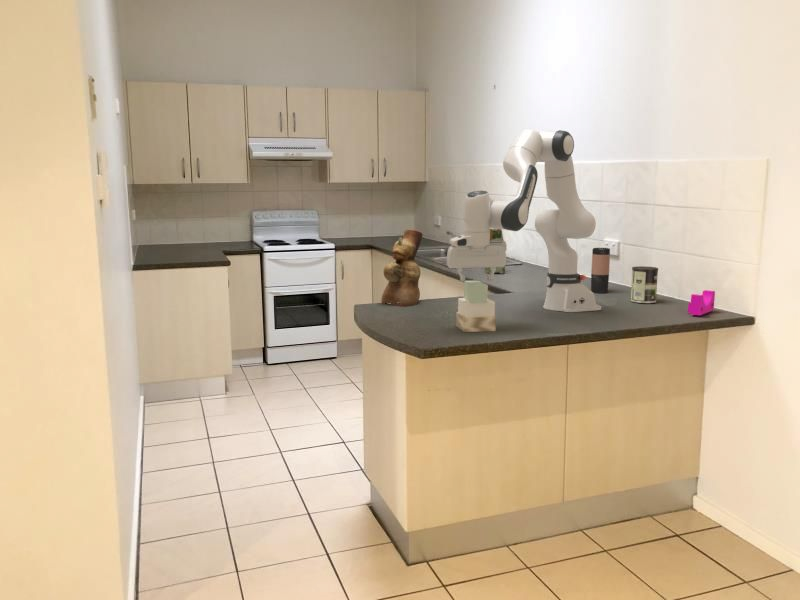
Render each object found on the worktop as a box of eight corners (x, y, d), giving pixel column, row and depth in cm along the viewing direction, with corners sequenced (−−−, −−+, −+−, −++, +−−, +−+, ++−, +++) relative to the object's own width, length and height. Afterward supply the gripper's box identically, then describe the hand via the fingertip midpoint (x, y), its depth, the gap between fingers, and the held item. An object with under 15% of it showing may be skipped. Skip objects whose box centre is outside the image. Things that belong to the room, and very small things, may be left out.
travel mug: (611, 293, 311) (614, 248, 308) (597, 294, 308) (599, 249, 305) (600, 291, 318) (602, 247, 315) (586, 292, 315) (588, 248, 312)
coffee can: (656, 299, 295) (658, 266, 293) (656, 303, 286) (658, 269, 283) (630, 298, 299) (632, 265, 296) (630, 302, 289) (631, 268, 287)
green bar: (477, 297, 244) (478, 280, 243) (487, 302, 234) (487, 285, 233) (463, 297, 243) (464, 280, 242) (472, 303, 233) (473, 285, 232)
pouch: (502, 275, 371) (504, 228, 367) (480, 274, 375) (481, 227, 371) (506, 272, 382) (507, 226, 378) (485, 271, 386) (486, 226, 381)
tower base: (486, 325, 246) (486, 311, 245) (495, 331, 235) (495, 317, 235) (456, 326, 244) (456, 312, 244) (463, 333, 234) (463, 318, 233)
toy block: (697, 308, 277) (698, 289, 276) (713, 310, 273) (715, 291, 272) (683, 313, 267) (684, 294, 265) (700, 315, 262) (701, 295, 261)
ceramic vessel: (373, 304, 285) (373, 231, 280) (403, 297, 302) (403, 228, 297) (405, 308, 276) (405, 232, 271) (435, 300, 294) (435, 229, 289)
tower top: (485, 311, 245) (485, 297, 244) (494, 316, 236) (495, 302, 235) (458, 312, 243) (458, 298, 242) (466, 317, 234) (466, 303, 233)
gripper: (503, 238, 239) (503, 278, 242) (445, 239, 236) (445, 280, 239) (509, 240, 233) (508, 281, 236) (449, 241, 230) (449, 282, 233)
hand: (476, 280), depth 237 cm, fingers open, 8 cm apart
